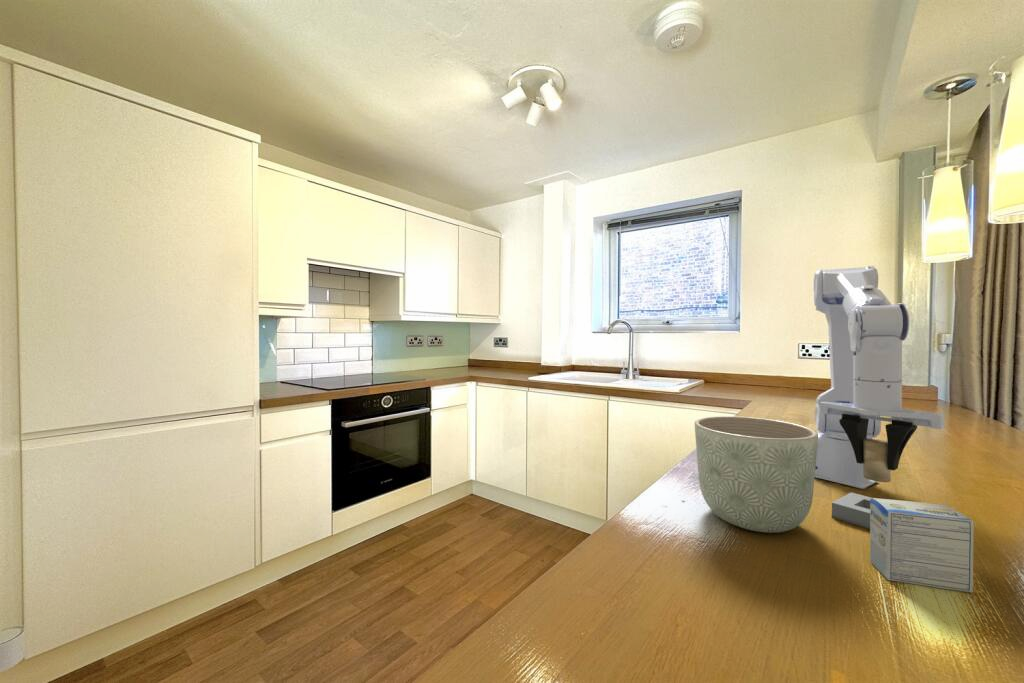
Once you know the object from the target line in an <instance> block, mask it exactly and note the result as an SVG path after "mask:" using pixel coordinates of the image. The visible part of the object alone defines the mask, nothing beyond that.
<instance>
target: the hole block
mask: <svg viewBox="0 0 1024 683" xmlns="http://www.w3.org/2000/svg"><path fill="white" fill-rule="evenodd" d="M872 498H873V497H870V496H866V495H862V494H858V493H855V492H849V493H848V494H846V495H844V496H841V497H840V498H838V499H836V500H834V501H831V518H833V517H834V519H835V520H836V519H837V520H840V521H843V522H847V523H850V524H853V525H856V526H860V527H863V528H866V529H869V530H870V499H872Z"/></svg>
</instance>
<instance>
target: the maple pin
mask: <svg viewBox="0 0 1024 683" xmlns="http://www.w3.org/2000/svg"><path fill="white" fill-rule="evenodd" d="M887 458H888V441H887V440H884V439H878V438H872V439H863V477H864V478H866V479H869V480H873V481H877V482H879V483H890V482H891V477H892V476H891V474H892V473H891V471H892V470H889V469H888V467H887Z"/></svg>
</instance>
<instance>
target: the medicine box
mask: <svg viewBox="0 0 1024 683" xmlns="http://www.w3.org/2000/svg"><path fill="white" fill-rule="evenodd" d="M871 498H872V499H870V529H869V531H870V532H869V534H870V540H869V542H870V544H869V545H870V546H869V547H870V552H869V553H870V555H869V556H870V558H869V559H870V561H871V563H872V565H873V566H874V567H875V569H877V571H879V572H880V573H881V575H882V576H883V577H884V578H885V579H886V580H887V581H891V582H898V583H905V584H911V585H912V584H913V585H918V586H924V587H925V586H926V587H932V588H939V589H946V590H951V591H960V592H966V593H974V536H975V535H974V528H975V527H974V526H975V522H974V521H973V520H972V519H970V518H969V517H968V516H967V515H965V514H963V513H962V512H960V511H958V510H956V509H954V508H952V507H950V506H949V505H946V504H938V503H930V502H929V503H928V502H920V501H909V500H901V499H900V500H898V499H889V498H887V499H886V498H876V497H871Z"/></svg>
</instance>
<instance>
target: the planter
mask: <svg viewBox="0 0 1024 683" xmlns="http://www.w3.org/2000/svg"><path fill="white" fill-rule="evenodd" d="M818 433H819V432H817V430H814V429H812V428H811V427H807V426H805V425H801V424H797V423H793V422H787V421H782V420H777V419H769V418H763V417H762V418H761V417H752V416H735V415H733V416H732V415H731V416H730V415H725V416H724V415H722V416H721V415H720V416H719V415H717V416H706V417H701V418H698V419H696V420H695V421H694V434H695V436H694V437H695V448H696V461H697V463H696V464H697V474H698V483H699V488H700V491H701V494H702V497H703V499H704V501H705V504H706V505H707V506H708V507H709V509H710V510H711V511H712V512H713V513H714V514H715V516H717V517H719V518H720V519H721V520H723V521H725V522H727V523H729V524H731V525H733V526H736V527H739V528H741V529H745V530H749V531H752V532H759V533H766V534H767V533H768V534H773V533H774V534H775V533H776V534H778V533H784V532H788V531H791V530H793V529H795V528H797V527H798V526H800V525H801V524H802V523H803V522H804V521H805V519H806V518H807V517H808V515H809V513H810V510H811V509H812V504H813V497H814V489H815V488H814V487H815V479H816V477H815V468H816V457H817V446H818Z"/></svg>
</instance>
